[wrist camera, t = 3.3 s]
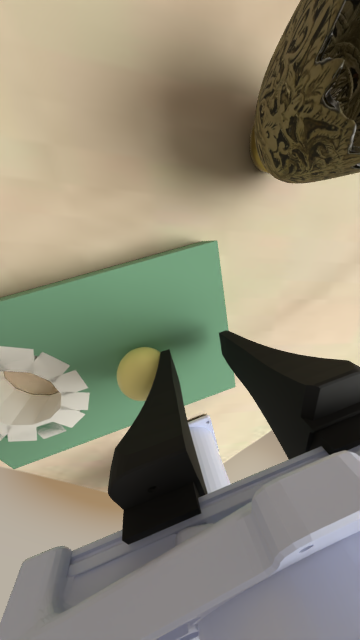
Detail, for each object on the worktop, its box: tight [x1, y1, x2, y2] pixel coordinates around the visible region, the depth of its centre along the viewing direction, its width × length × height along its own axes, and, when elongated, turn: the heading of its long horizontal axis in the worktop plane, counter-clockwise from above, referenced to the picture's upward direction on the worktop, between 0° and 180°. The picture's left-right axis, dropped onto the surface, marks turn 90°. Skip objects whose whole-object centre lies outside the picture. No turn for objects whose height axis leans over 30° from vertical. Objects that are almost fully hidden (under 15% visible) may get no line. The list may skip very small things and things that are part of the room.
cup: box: [250, 0, 360, 183], centre depth 8 cm, size 8×7×8 cm
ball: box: [117, 347, 160, 401], centre depth 12 cm, size 4×4×4 cm
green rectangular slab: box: [0, 241, 235, 469], centre depth 14 cm, size 14×22×3 cm, turn 104°
